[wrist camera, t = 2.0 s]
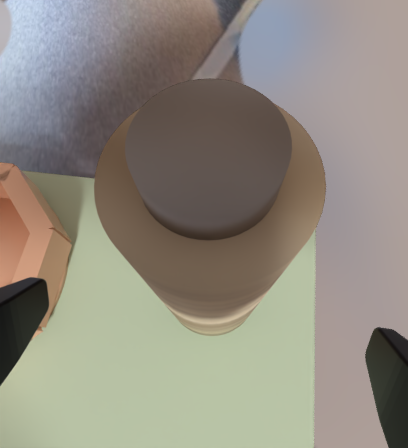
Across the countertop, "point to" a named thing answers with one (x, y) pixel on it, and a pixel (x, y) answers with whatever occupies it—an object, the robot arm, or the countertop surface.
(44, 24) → the countertop surface
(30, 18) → the countertop surface
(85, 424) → the mat
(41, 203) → the octagonal ashtray
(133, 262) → the pepper mill
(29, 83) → the countertop surface
